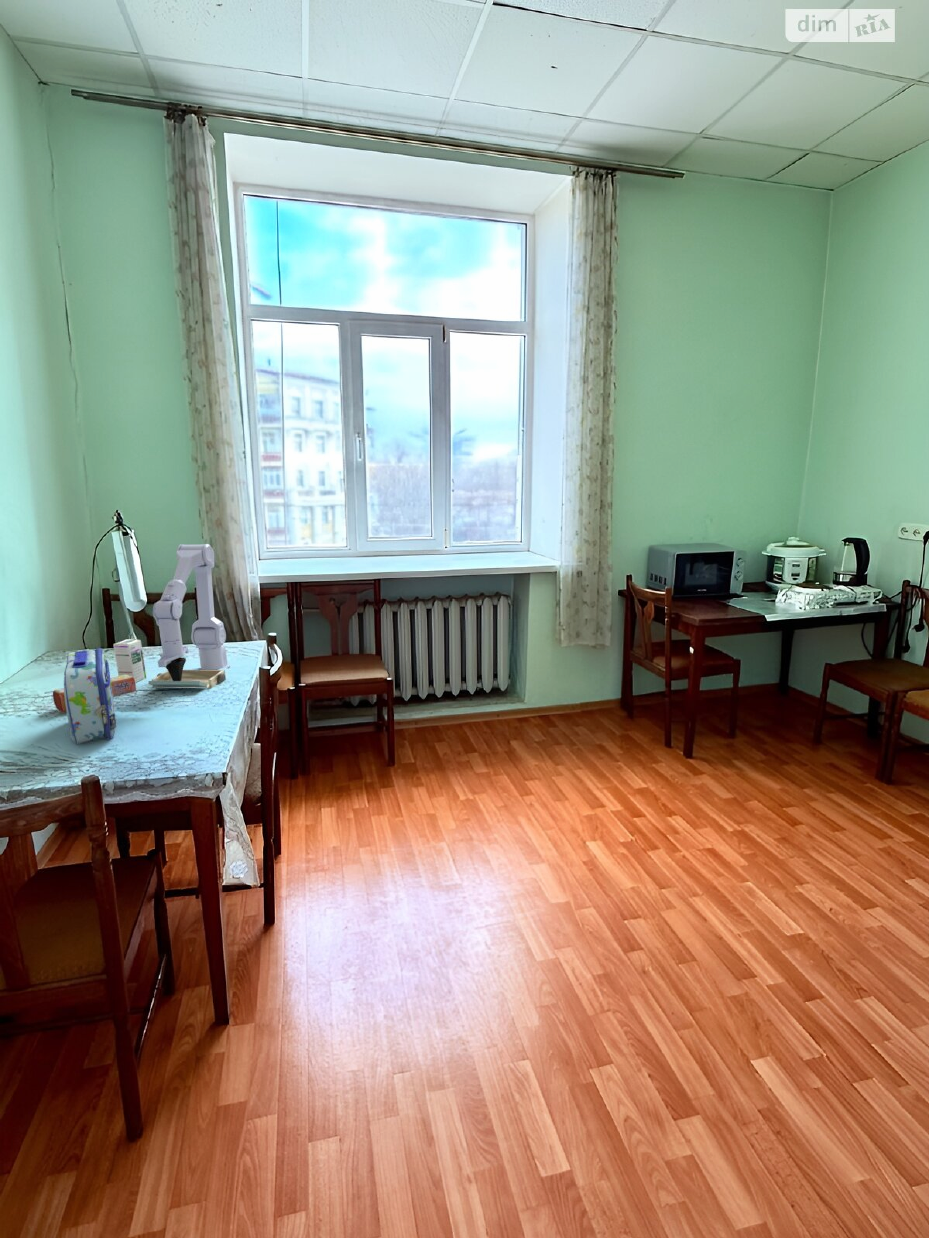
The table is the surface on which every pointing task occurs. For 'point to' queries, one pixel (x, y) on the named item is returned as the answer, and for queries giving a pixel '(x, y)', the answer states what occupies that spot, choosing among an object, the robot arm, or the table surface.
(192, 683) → the tailgate
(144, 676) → the syrup box
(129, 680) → the snack package
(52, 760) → the table surface
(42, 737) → the table surface
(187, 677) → the beige tray
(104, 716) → the lunch box
